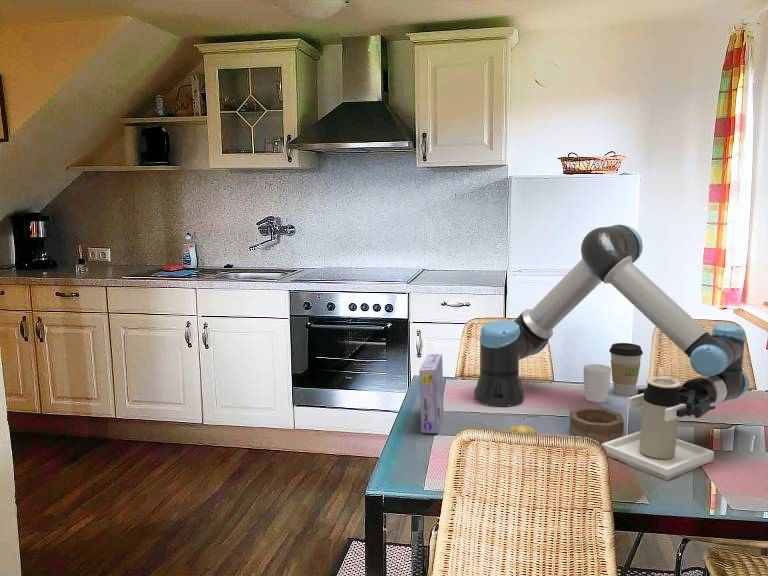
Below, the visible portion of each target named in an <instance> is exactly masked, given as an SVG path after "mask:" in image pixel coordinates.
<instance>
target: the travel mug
mask: <svg viewBox="0 0 768 576" xmlns="http://www.w3.org/2000/svg"><path fill="white" fill-rule="evenodd" d="M645 382H646V384H647V385H646V390H645V391H644V398H643V406H642V411H641V412H642V413H641V424H640V431H641V433H640V445H639V450H640V451H641V452H642V453H643V454H645V455H647V456H649V457H652V458H656V459H668V458H672V457H674V456H675V448H676V438H677V437H678V435H677V434H678V427H679V418H676V419H673V420H670V421H664V419H665V409H667V408H670V407H674V406H677V405H680V395H679V393H678V388H679V387H681V382H680V381H678V380H676V379H675V378H671V377H667V376H649V377H647V378H646V379H645Z"/></svg>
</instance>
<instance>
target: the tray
mask: <svg viewBox="0 0 768 576" xmlns="http://www.w3.org/2000/svg"><path fill="white" fill-rule="evenodd" d="M640 433H641V430H638V431H636V432H632V433H630V434H627V435H623V437H620V438H617V439H614V440H611V441H608V442H605V443H602V444H600V446H601V445H602V446H603V447H604V448H605V449H606V450H607V453H608V456H609V457H608V456H607V457H608V458H611V457H613V458H615V459H618V460H620V461H622V462H621V463H623V462H624V463H623V464H625V463H627V464H626V465H628V466H631V467H632V468H636V469H638V470H641V471H643V472H645V473H648V474H650V475H652V476H655V477H657V478H660V479H663V480H665V481H669V480H671V479H674V478H676V477H679V476H682V475H683V474H687V473H688V472H691V471H694V470H696V469H698V468H700V466H701V467H703V466H705V465H704V464H706V463H707V462H710V461H712V460H713V461H714V458H715V457H714V456H715V450H711V449H709V448H705V447H703V446H700V445H697V444H693V443H691V442H688V441H684V440H682V439H680V438H677V437H676V448H675V456H674V457H672V458H668V459H656V458H652V457H649V456H647V455H645V454H643V453H642V452H641V451H640V450H639V445H640ZM613 458H612V459H613ZM615 459H614V460H615ZM618 460H617V461H618ZM620 461H619V462H620ZM702 465H703V466H702ZM706 465H707V464H706Z"/></svg>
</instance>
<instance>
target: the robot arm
mask: <svg viewBox="0 0 768 576" xmlns="http://www.w3.org/2000/svg"><path fill="white" fill-rule="evenodd" d="M642 253H643V240H642V236H641V235H640V234H639V232H638V231H637V230H636V229H634V227H631V226H629V225H627V224H626V225H625V224H613V225H610V226H602V227H596V228H594V229H592V230H591V231H589V232H587V234H586V235H585V236H584V238H583V240H582V242H581V246H580V254H581V259H580V260H579V262H577V264H576V265H575V266H574V267H572V269H570V270H569V272H568V273H566V274H565V276H563V278H562V279H561V280H560V281H559V282H558V283H557V284H556V285H555V286H554V287H553V288H552V289H551V290H550V291H549V292H548V293H547V294H546V295H545V296H544V297H543V298H542V299H541V300H540V301H539V302H538V303H537V304H536V305H534V307H533V308H532V309H529V308H527V309H524V310H523V311H522V312H521V313H520V314H519V316H517V317H516V318H515V319H514V320H513V321H512V320H504V319H503V320H501V319H500V320H497V321H495V320H493V321H489V322H487V323H485V324H484V325H483V326H482V327H481V329H480V334H479V335H480V336H479V343H480V344H479V353H480V354H479V376H478V379H477V382H476V387H475V388H474V390H473V399H474V398H475V399H476V400H477V401H479V402H481V403H480V404H482V403H484V404H483V405H485V404H488V405H487V406H490V405H495V406H494V407H500V406H505V407H509V406H508V405H514V406H517V405H516V404H518V405H520V404H519V403H521V402H522V403H523V402H524V401H525V391H524V389H523V385H522V382H521V378H520V375H519V374H520V373H519V372H520V371H519V370H520V360H523V359H525V358H528V357H529V356H534V355H536V354H538V353H540V352H541V351H542V350H544V348H546V346H547V345H548V343H549V340H550V339H551V338H553V336H554V331H553V329H554V328H555V327H556V326H558V325H559V323H560V322H561V321H563V319H565V318H566V317H567V316H568V315H569V314H570V313H571V312H572V311H573V310H574V309H575V308H576V307H577V306H578V305H579V304H580V303H582V302H583V300H584V299H586V297H587V296H588V295H590V294H591V293H592V291H594V290H595V289H596V288H597V287H598V286H599V285H600V284H601V283H604V284H609V285H612V287H614V288H615V289H616V290H617V291H618V292H619V293H620V294H621V295H622V296H623V297H624V298H625V299H627V301H628V302H629V303H631V304H632V305H633V306H634V307H635V308H636V309H637V310H638V311H639V312H640V313H641V314H642V315H644V316H645V317H646V319H648V321H649V322H651V323H652V324H653V325H654V326H655V327H656V328H657V329H658V330H659V331H660V332H661V333H662V334H664V336H666V337H667V338H668V339H669V340H670V341H671V342H672V343H673V344H674V345H675V346H676V347H677V348H678V349H680V351H681V352H683V353H684V354H685V355H686V356H687V357H688V358H689V363H690V365H691V368H692V369H693V371H694V372H695V373H697V374H698V375H699V376H698V377H695V378H691V379H688V380H687V381H685V382H684V383H683V384H682V385H681V386H679V388H678V393H679V395H680V405H677V406H674V407H670V408H667V409H665V419H664V421H670V420H673V419H676V418H678V419H679V418H683V417H691V416H694V418H695V419H699V418H702V417H703V416H704V415H705V414H707V413H708V412H709V411H711V410H715V409H716V405H717V404H720V403H724V402H727V401H729V400H730V401H731V400H735V399H737V398H738V397H741V396H743V395H744V394H746V392H748V390H749V387H750V380H749V377H748V375H747V373H746V372H744V369H743V364H744V353H745V351H744V350H745V343H746V339H745V335H746V334H745V332H746V331H745V329H744V328H743V327H742V326H739V325H733V324H716V325H713V327H712V331H711V332H712V333H709V332H708V330H706V329H705V328H704V327H703V326H702V325H701V324H700V323H699V322H698V321H696V320H695V319H694V317H692V316H691V315H690V314H689V313H688V312H686V311H685V309H683V308H682V307H681V306H680V305H679V304H678V303H677V302H676V301H674V300H673V299H672V298H671V297H670V296H669V295H668V294H667V293H665V291H663V290H662V289H661V288H660V287H659V286H658V285H657V284H656V283H655V282H654V281H652V280H651V279H650V277H648V276H647V275H646V274H645V273H644V272H643V271H642V270H641V269H639V268H638V267H637V266H636V265H635V264H634V263H635V262H636V261H637V260H638V259H640V257H641V255H642ZM646 388H647V387H646ZM646 388H638V389H637V395H632V396H631V397H630V396H628V398H627V409H628V410H633V409H636V408H639V407H643V398H644V391H645V390H646ZM475 399H474V400H475ZM476 400H475V401H476ZM477 401H476V402H477ZM479 402H478V403H479ZM522 403H521V404H522Z"/></svg>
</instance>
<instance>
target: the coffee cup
mask: <svg viewBox="0 0 768 576" xmlns="http://www.w3.org/2000/svg"><path fill="white" fill-rule="evenodd" d="M609 353H610V358H611V359H610V368H611V381H612V384H613V385H612V386H613V393H614V394H615V395H618V396H622V397H630V396H631V397H633V396H635V393H636V388H637V383H638V380H639V375H640V367H641V359H642V355H643V353H644V352H643V350H642V347H641V346H640V345H639V344H635V343H631V342H616V343H613V344H611V346H610V348H609Z"/></svg>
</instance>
